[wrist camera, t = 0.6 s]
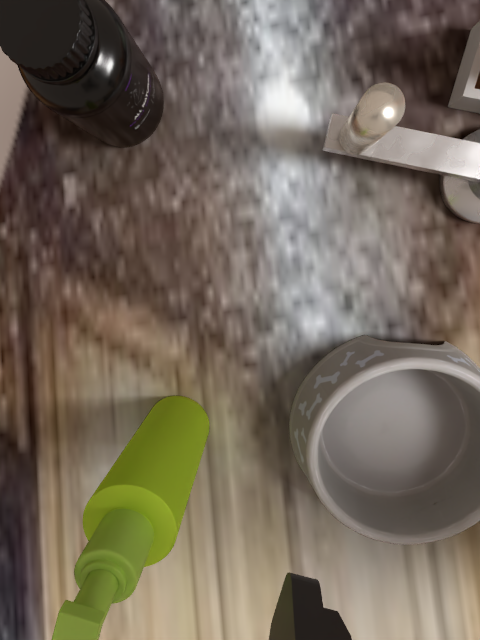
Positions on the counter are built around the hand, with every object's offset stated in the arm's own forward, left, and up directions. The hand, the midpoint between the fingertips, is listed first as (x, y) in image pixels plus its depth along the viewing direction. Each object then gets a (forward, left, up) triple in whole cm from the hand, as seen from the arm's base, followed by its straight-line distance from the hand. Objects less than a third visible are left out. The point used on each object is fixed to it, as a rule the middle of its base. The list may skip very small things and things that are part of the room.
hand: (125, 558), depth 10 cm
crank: (-12, -16, -23) cm, 31 cm away
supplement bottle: (+12, -16, -25) cm, 32 cm away
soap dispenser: (+3, +11, -25) cm, 27 cm away
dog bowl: (-16, +6, -25) cm, 31 cm away
